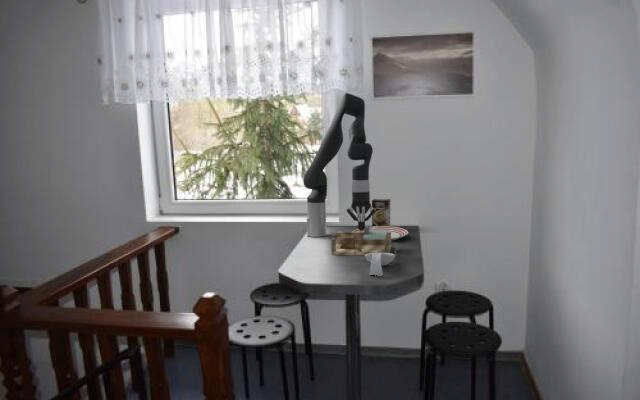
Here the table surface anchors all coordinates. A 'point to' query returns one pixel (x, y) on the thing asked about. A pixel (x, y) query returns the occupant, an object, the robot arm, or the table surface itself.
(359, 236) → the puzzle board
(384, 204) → the coffee box
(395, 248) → the table surface
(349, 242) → the walnut block
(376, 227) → the dinner plate
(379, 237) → the sliding cover
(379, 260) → the spoon rest
